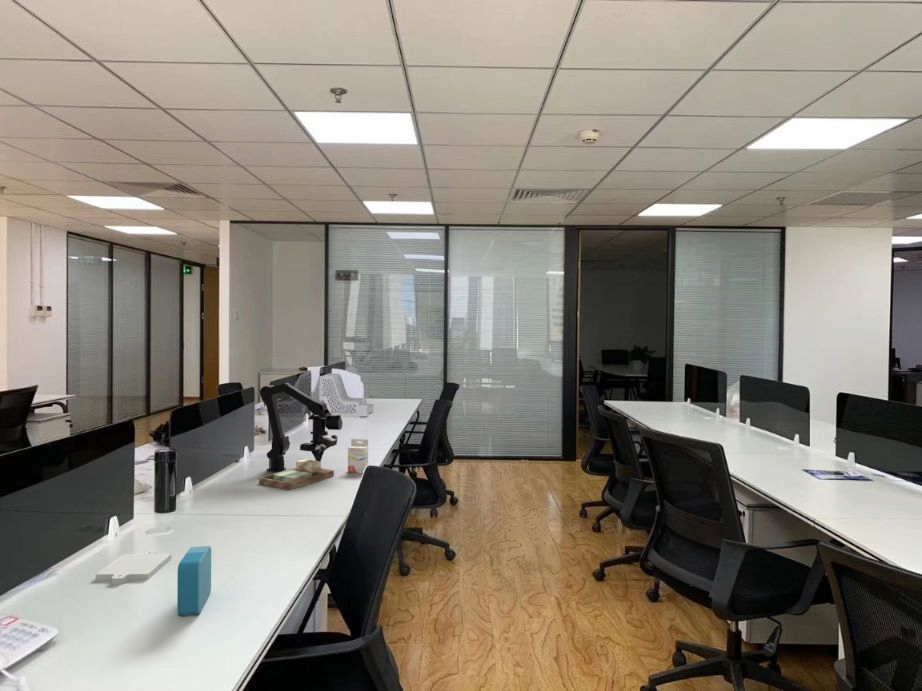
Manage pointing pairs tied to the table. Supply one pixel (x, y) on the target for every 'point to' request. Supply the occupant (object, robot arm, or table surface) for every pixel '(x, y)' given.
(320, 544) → the table surface
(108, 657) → the table surface
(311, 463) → the maple slab
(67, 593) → the table surface
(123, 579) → the mounting plate
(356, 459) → the ink cartridge box
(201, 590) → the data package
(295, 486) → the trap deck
